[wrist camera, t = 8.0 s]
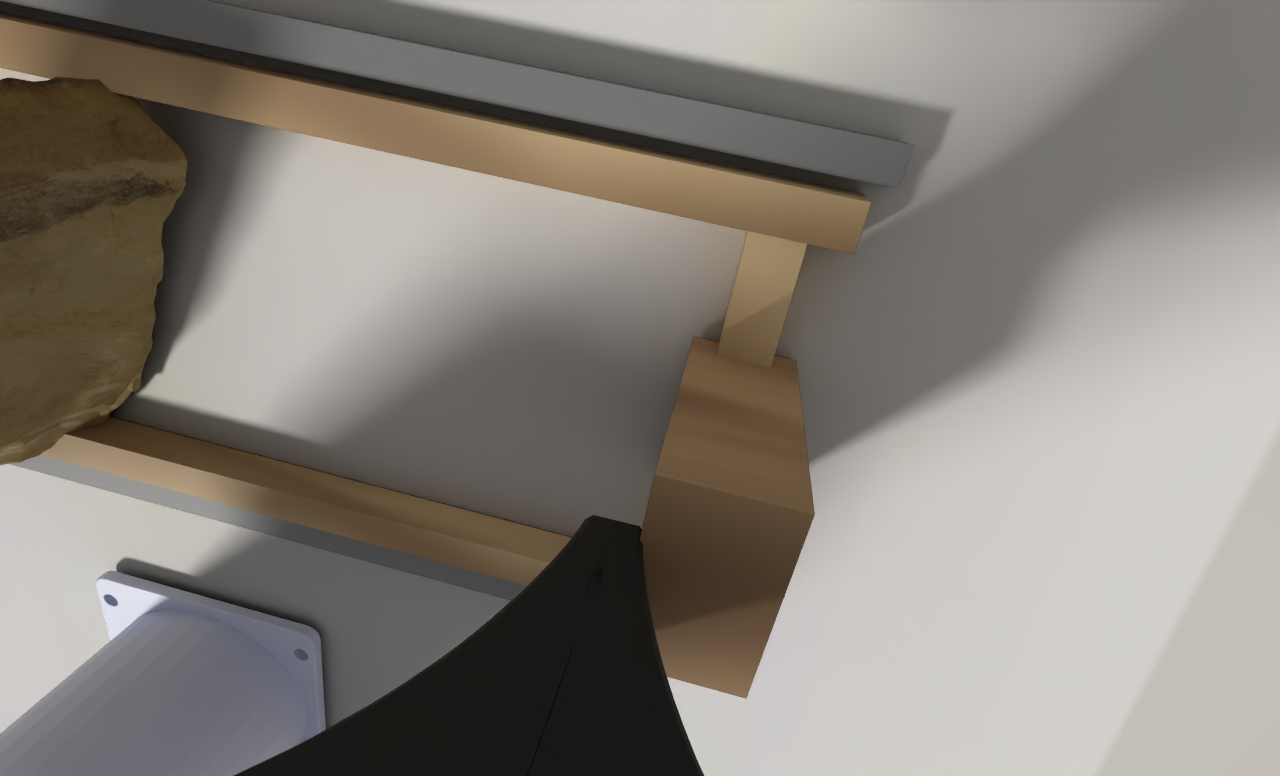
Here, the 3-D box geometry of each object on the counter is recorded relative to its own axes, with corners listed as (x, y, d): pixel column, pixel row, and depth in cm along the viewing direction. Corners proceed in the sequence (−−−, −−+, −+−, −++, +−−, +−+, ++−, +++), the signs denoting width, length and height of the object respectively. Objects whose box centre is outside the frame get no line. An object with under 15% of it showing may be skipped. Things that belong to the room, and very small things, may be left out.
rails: (735, 639, 19) (734, 661, 18) (-347, 348, 22) (-384, 357, 21) (1047, -277, 10) (1068, -305, 9) (-839, -561, 13) (-932, -598, 12)
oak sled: (728, 607, 18) (713, 831, 13) (-52, 400, 20) (-357, 517, 15) (862, 193, 13) (932, 267, 8) (-195, -29, 15) (-744, -98, 10)
